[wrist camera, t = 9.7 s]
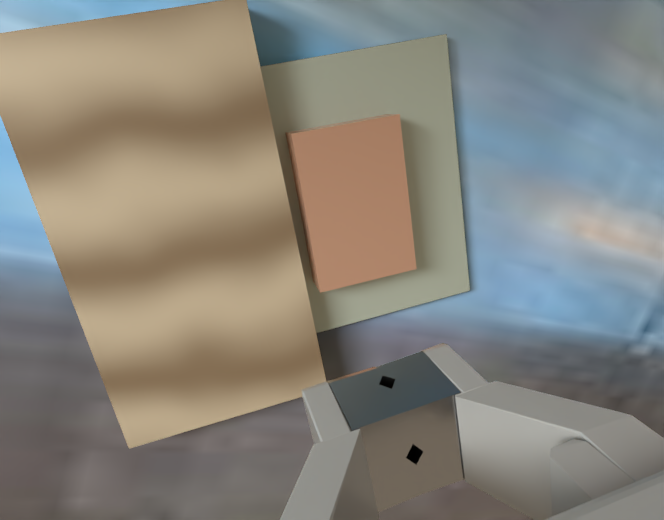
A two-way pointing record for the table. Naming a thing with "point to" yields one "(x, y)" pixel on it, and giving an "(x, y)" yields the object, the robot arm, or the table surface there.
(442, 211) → the mat
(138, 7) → the table surface
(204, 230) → the beige flat block
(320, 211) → the tile
